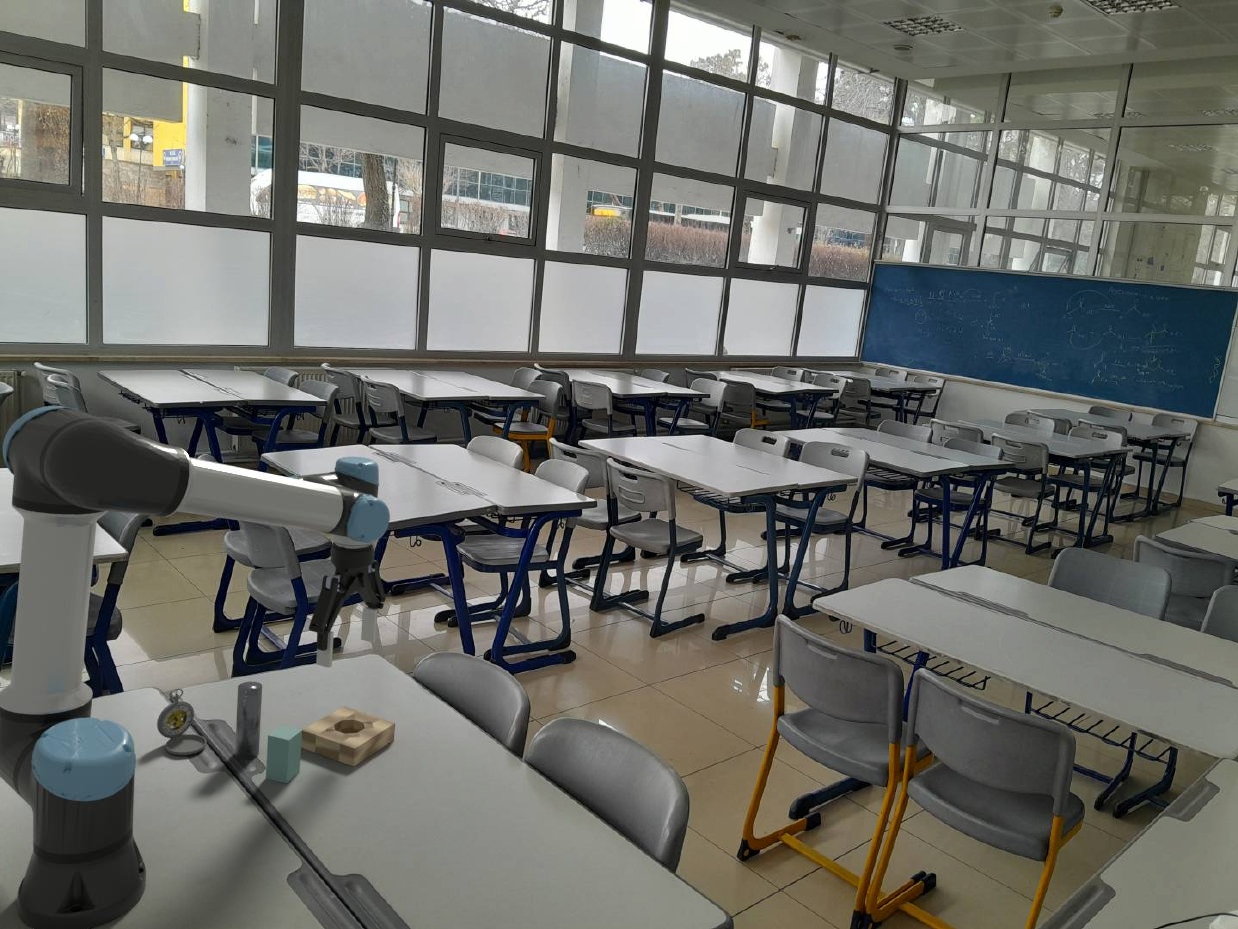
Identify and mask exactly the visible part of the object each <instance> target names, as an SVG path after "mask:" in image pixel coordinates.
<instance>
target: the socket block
mask: <svg viewBox="0 0 1238 929" xmlns="http://www.w3.org/2000/svg"><path fill="white" fill-rule="evenodd" d="M301 730H302V739H301V749H304V750H307V751H309V752H312V753H315V754H318V755H321V756H324V757H326V758H328V759H329V758H330V759H331V760H334V761H337V762H340V763H342V764H346V765H348V766H351V767H356V766H357V765H358V764H360V763H361V762H363V761H364V760H366V759H367V758H369V757H370V756H372V755H373V754H375V753H376V752H378V751H380V750H381V749H382V748H384V747H386V746H387V745H389V744H390V743H392V742H394V740H395V730H396V722H393V721H390V720H387V719H384V718H381V717H377V716H374V715H372V714H369V713H366V712H363V711H361V710H357V709H354V708H350V707H348V706H342V707H340V708H338V709H336V710H335V711H333V712H332V713H330V714H328V715H326V716H324V717H322V718H321V719H319V720H317V721H315V722H313V723H311V724H310V725H308V726H306V727H304V728H303V729H301ZM388 743H389V744H388Z"/></svg>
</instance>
